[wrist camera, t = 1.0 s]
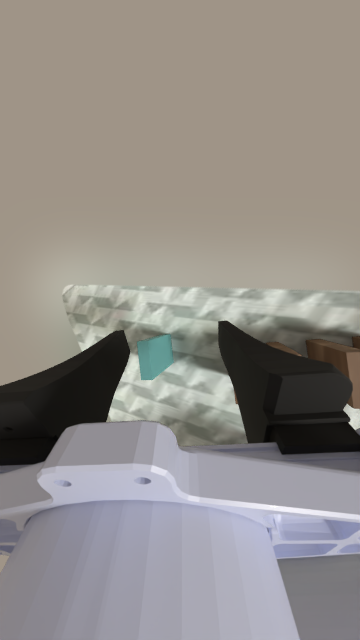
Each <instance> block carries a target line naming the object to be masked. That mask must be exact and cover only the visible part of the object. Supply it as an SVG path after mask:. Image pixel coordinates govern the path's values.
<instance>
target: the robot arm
mask: <svg viewBox="0 0 360 640" xmlns="http://www.w3.org/2000/svg"><path fill="white" fill-rule="evenodd" d="M218 342H219V348H220V352H221V356H222V359H223V361H224V364H225V366H226V369H227V371H228V374H229V376H230V379H231V381H232V384H233V387H234V390H235V394H236V398H237V401H238V405H239V409H240V412H241V416H242V420H243V424H244V428H245V432H246V436H247V441H248V444H227V445H205V446H178V444H177V439H176V436H175V435H174V433H173V432H172V431H171V429H170V428H169V427H168V426H166V425H163V424H161V423H159V422H156V421H146V420H138V421H120V422H106V420H107V417H108V413H109V410H110V406H111V403H112V400H113V396H114V393H115V391H116V388H117V386H118V384H119V381H120V379H121V377H122V374H123V372H124V370H125V367H126V365H127V362H128V359H129V355H130V349H129V346H128V343H127V339H126V336H125V333H124V330H120V331H115V332H113V333H111V334H109V335H108V336H106V337H105V338H103V339H102V340H100V341H99V342H97V343H96V344H94V345H93V346H91V347H89V348H88V349H86V350H84V351H83V352H81V353H79V354H78V355H76V356H74V357H72V358H70V359H68V360H67V361H64V362H63V363H60V364H58V365H56V366H54V367H51V368H49V369H47V370H45V371H42V372H40V373H37V374H34V375H32V376H29V377H27V378H24V379H21V380H18V381H15V382H12V383H9V384H5V385H3V386H0V555H7V556H9V558H8V560H7V562H6V564H5V566H4V568H3V569H2V571H1V573H0V640H360V428H359V429H357V430H354V429H353V428H352V426H351V425H350V424H349V423H348V422H350V417H349V416H348V415H347V414H346V413H345V412H344V411H343V409H344V407H345V405H346V404H347V402H348V400H349V398H350V397H351V394H352V391H353V383H352V382H351V380H350V379H349V378H348V377H347V376H346V375H344V374H343V373H342V372H341V371H340V370H339V369H337V368H336V367H335V366H334V365H333V364H331V363H327V362H323V361H318V360H314V359H309V358H305V357H302V356H298V355H295V354H291V353H288V352H285V351H282V350H280V349H277V348H274V347H272V346H269V345H267V344H265V343H263V342H261V341H259V340H257V339H255V338H253V337H251V336H250V335H248V334H246V333H245V332H243V331H241V330H240V329H238V328H237V327H236V326H234V325H233V324H231V323H230V322H228V321H218Z"/></svg>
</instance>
